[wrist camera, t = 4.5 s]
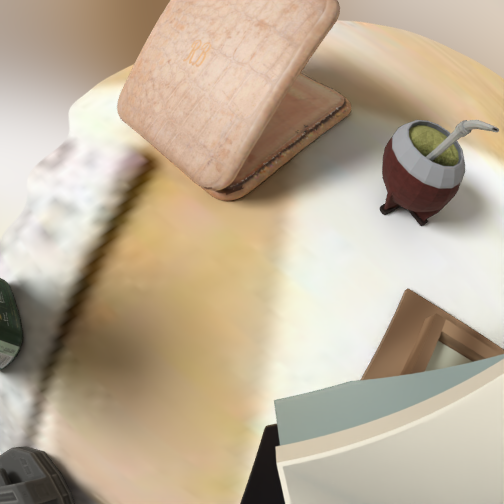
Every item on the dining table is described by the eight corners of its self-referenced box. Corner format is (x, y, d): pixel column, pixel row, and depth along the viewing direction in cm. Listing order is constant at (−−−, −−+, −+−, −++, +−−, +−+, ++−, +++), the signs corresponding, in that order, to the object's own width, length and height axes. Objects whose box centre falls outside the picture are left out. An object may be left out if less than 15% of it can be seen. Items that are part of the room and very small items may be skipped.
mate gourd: (404, 162, 28) (454, 41, 14) (452, 221, 25) (535, 111, 11) (351, 187, 27) (393, 44, 13) (403, 255, 24) (497, 130, 10)
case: (118, 124, 34) (70, 21, 19) (242, 52, 39) (232, -41, 24) (222, 221, 27) (178, 59, 12) (359, 113, 32) (385, -8, 17)
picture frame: (513, 359, 19) (529, 355, 16) (459, 481, 15) (475, 487, 13) (404, 290, 23) (417, 280, 20) (332, 425, 19) (339, 430, 17)
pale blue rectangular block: (365, 450, 12) (556, 539, 1) (288, 471, 12) (324, 663, 1) (351, 380, 14) (560, 330, 2) (272, 399, 14) (276, 463, 2)
